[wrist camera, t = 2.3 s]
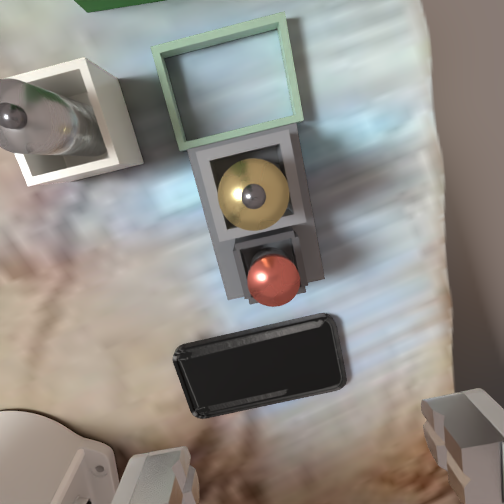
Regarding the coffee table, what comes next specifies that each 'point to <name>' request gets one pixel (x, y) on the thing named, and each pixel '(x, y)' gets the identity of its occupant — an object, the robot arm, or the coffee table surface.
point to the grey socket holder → (278, 235)
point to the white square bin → (107, 114)
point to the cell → (253, 194)
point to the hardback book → (109, 4)
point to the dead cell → (46, 122)
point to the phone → (261, 366)
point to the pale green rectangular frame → (217, 38)
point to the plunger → (273, 277)
